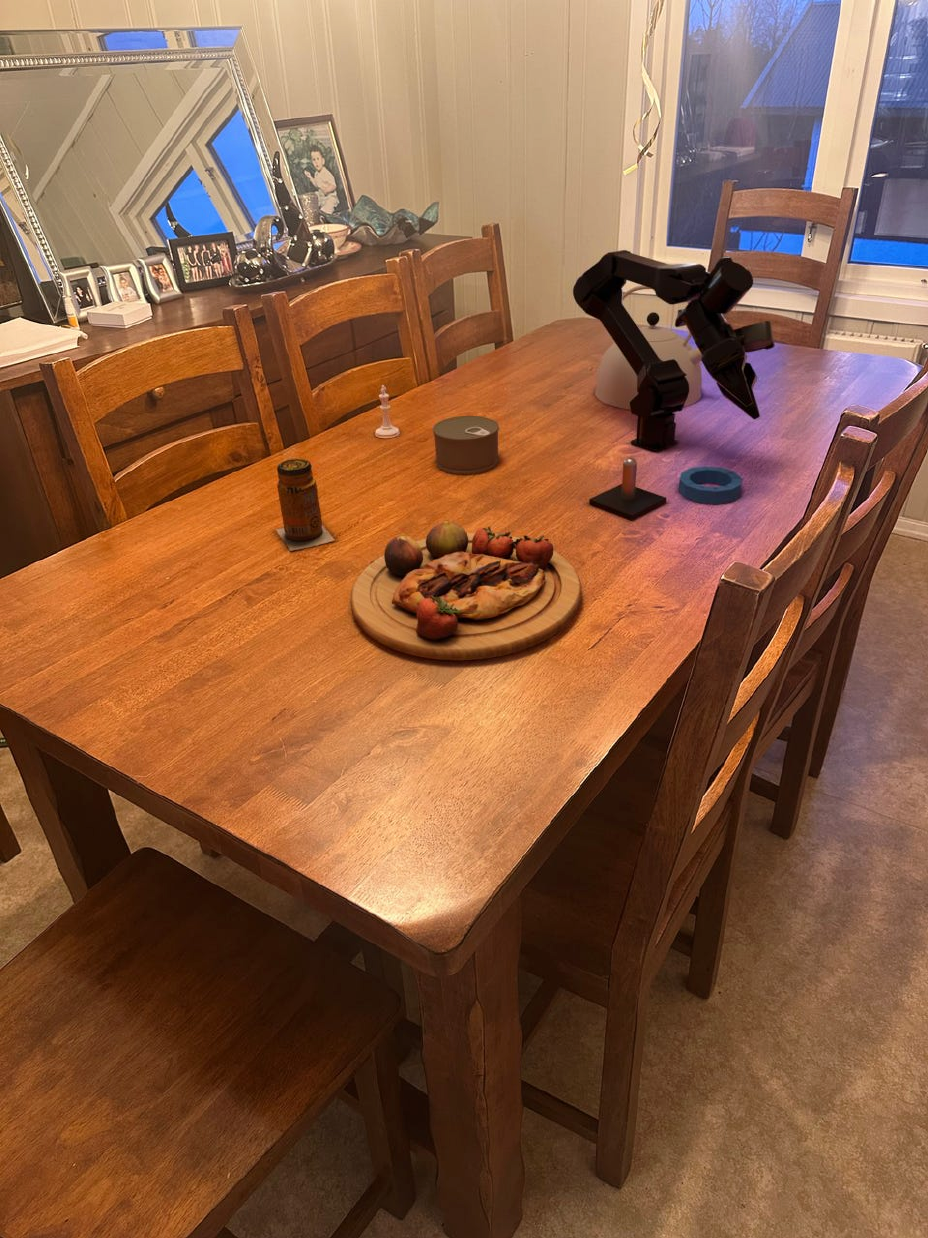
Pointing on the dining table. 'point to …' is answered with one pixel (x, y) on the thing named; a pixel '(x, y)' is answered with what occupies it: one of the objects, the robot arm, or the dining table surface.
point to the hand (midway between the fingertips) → (753, 411)
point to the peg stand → (628, 496)
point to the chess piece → (386, 418)
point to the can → (466, 444)
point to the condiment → (300, 506)
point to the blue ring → (710, 494)
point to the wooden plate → (465, 594)
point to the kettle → (620, 378)
